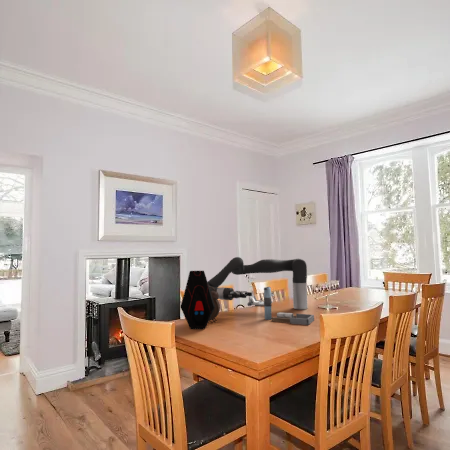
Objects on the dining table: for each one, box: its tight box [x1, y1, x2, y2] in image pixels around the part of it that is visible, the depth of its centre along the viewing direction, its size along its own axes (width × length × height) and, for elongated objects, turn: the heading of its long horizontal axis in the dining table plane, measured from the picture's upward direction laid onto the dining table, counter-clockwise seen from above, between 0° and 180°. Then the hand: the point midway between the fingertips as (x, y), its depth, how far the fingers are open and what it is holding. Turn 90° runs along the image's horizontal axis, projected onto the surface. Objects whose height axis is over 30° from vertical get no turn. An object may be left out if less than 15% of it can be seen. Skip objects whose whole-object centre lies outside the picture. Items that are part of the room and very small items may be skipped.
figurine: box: [180, 270, 215, 330], centre depth 180 cm, size 18×8×30 cm, turn 84°
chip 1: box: [276, 311, 287, 318], centre depth 193 cm, size 4×4×4 cm
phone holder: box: [247, 291, 275, 307], centre depth 246 cm, size 18×10×12 cm
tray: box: [289, 313, 315, 326], centre depth 188 cm, size 13×10×3 cm
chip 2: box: [284, 312, 295, 318], centre depth 191 cm, size 4×4×4 cm
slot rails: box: [271, 315, 296, 324], centre depth 192 cm, size 10×11×2 cm
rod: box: [263, 286, 273, 321], centre depth 197 cm, size 6×4×18 cm
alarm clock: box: [209, 286, 221, 323], centre depth 193 cm, size 15×7×20 cm, turn 81°
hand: (249, 295), depth 203 cm, fingers open, 8 cm apart
